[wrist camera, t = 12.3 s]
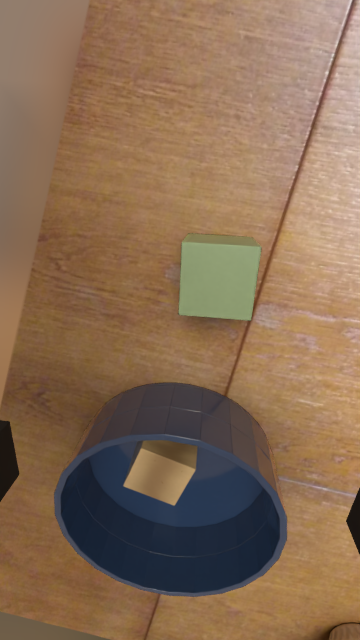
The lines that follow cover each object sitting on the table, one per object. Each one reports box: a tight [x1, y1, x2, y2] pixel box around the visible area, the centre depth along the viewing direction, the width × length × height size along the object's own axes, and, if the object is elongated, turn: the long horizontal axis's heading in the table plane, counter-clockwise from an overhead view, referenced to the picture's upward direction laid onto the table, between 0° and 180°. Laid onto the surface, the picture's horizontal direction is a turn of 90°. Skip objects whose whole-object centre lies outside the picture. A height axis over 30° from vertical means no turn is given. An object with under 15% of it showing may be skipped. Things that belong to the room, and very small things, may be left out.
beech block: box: [123, 440, 197, 505], centre depth 29 cm, size 5×5×5 cm
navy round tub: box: [54, 383, 287, 597], centre depth 30 cm, size 20×20×7 cm
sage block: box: [178, 233, 261, 321], centre depth 22 cm, size 5×5×5 cm
